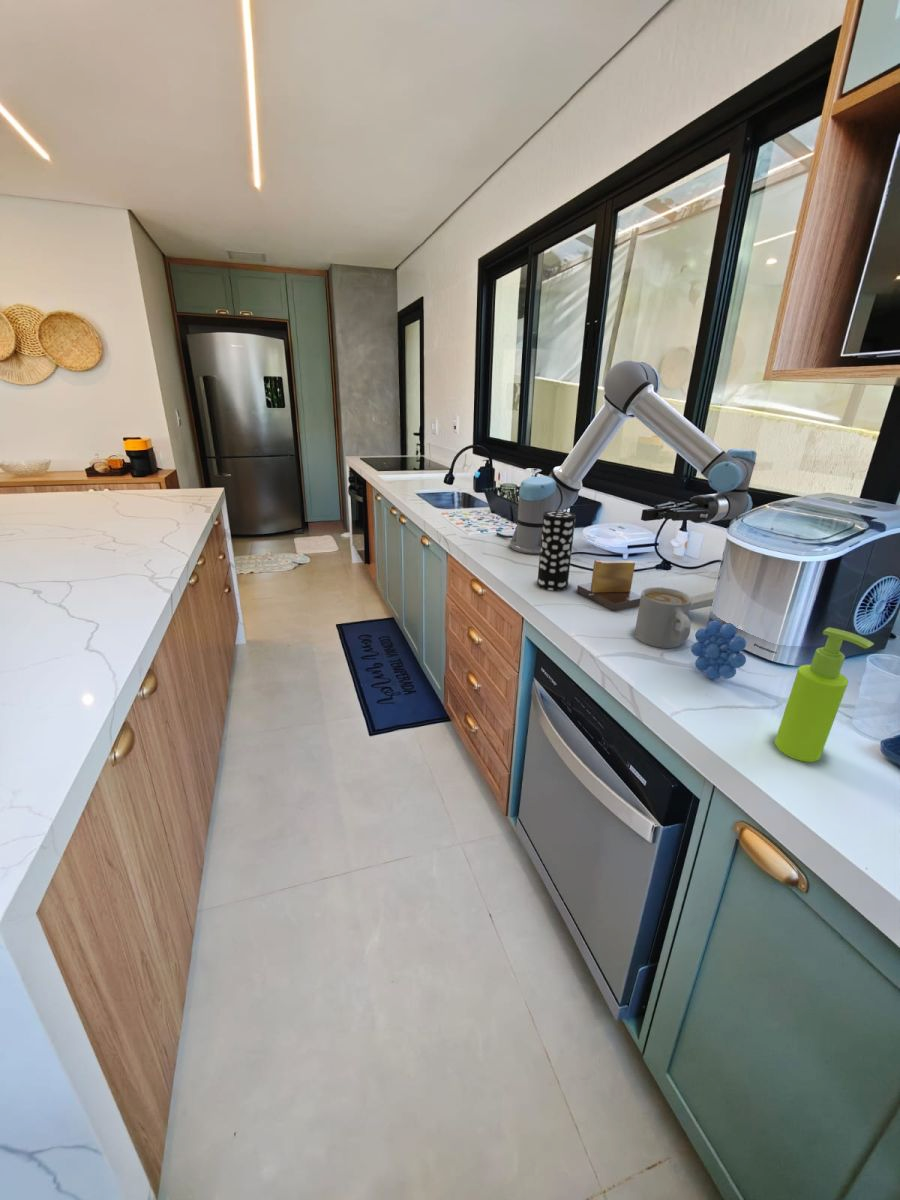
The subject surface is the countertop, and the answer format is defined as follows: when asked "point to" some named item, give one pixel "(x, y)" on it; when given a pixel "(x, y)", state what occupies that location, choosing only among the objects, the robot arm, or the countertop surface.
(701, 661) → the blue bumpy cluster
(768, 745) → the countertop surface
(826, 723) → the soap dispenser
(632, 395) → the robot arm
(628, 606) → the dark brown flat slab
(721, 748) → the countertop surface
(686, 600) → the coffee mug
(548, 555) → the white-spotted black cylinder
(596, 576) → the golden brown rectangular block
